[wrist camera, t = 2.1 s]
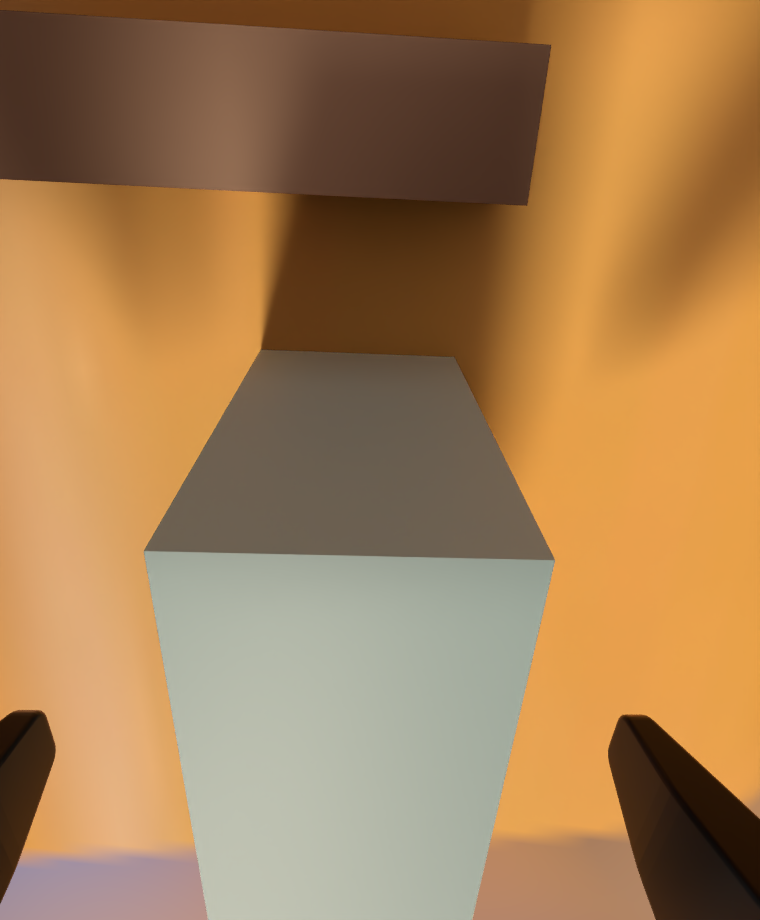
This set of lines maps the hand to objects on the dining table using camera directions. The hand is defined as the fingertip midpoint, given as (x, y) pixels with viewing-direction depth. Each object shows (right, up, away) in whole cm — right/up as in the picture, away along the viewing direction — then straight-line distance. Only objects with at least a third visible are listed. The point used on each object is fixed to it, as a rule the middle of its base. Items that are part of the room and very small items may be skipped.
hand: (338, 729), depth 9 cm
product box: (0, +2, +5) cm, 6 cm away
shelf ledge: (-5, +10, +1) cm, 11 cm away
